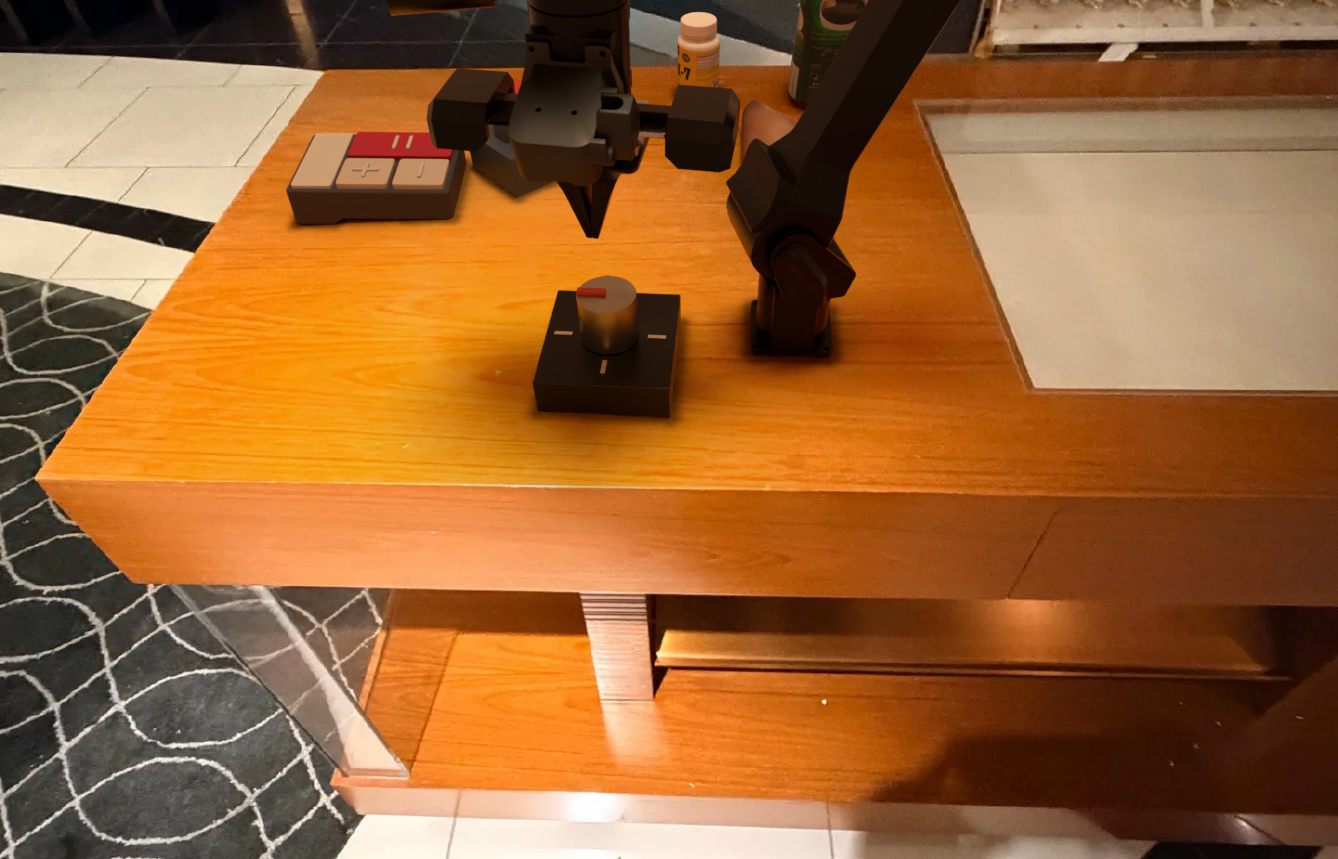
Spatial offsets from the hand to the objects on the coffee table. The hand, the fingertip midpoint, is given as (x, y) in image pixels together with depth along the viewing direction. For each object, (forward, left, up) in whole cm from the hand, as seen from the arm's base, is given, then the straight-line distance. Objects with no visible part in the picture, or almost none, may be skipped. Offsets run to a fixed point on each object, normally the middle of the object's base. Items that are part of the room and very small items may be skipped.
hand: (594, 235), depth 59 cm
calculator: (+24, +25, -12) cm, 37 cm away
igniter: (+30, +11, -12) cm, 34 cm away
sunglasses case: (+30, -14, -12) cm, 35 cm away
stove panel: (0, -1, -12) cm, 12 cm away
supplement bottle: (+47, -5, -12) cm, 48 cm away
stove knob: (0, -1, -9) cm, 9 cm away
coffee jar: (+47, -20, -12) cm, 52 cm away
